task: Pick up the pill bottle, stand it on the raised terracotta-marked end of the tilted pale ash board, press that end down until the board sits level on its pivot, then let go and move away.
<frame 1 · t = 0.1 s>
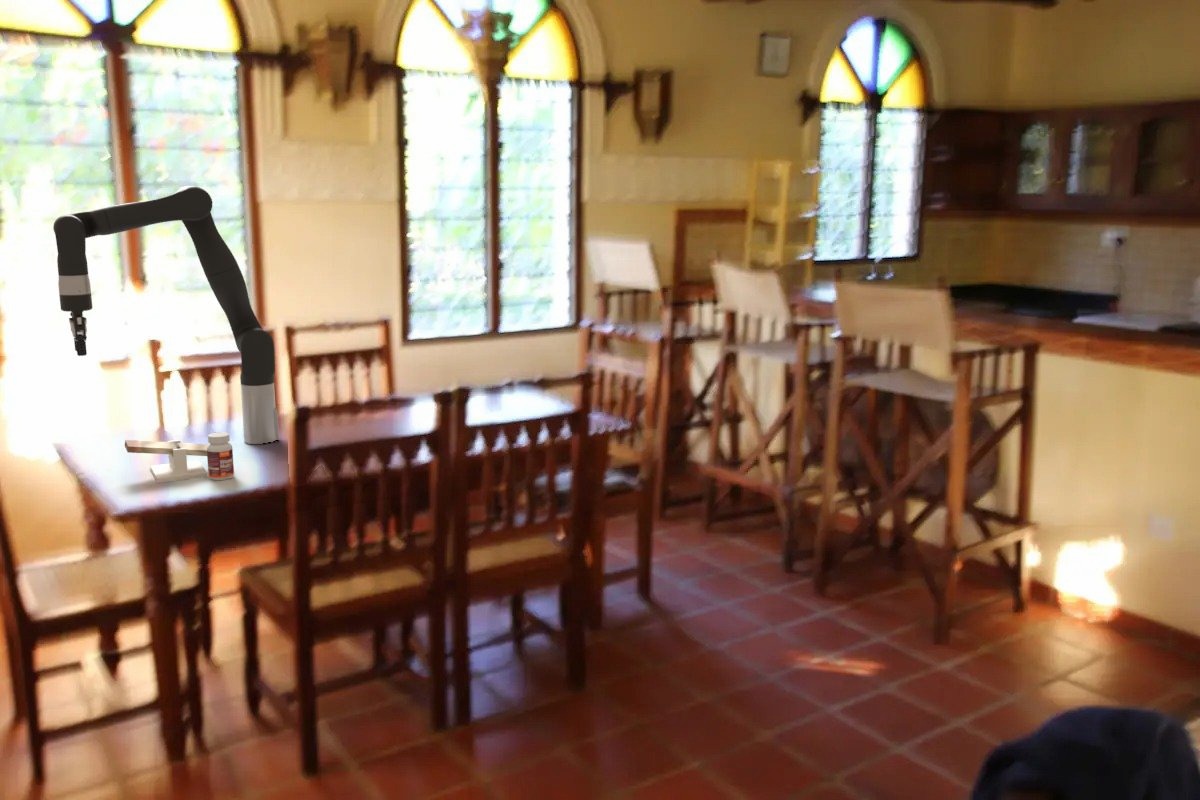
hand: (80, 353, 279), 29 cm above the table, tool pointing down, fingers open, 8 cm apart
pivot stand: (178, 472, 273), on the table
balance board: (176, 448, 272), point 7 cm above the table, hinge at -10.0°
pill bottle: (221, 478, 269), on the table
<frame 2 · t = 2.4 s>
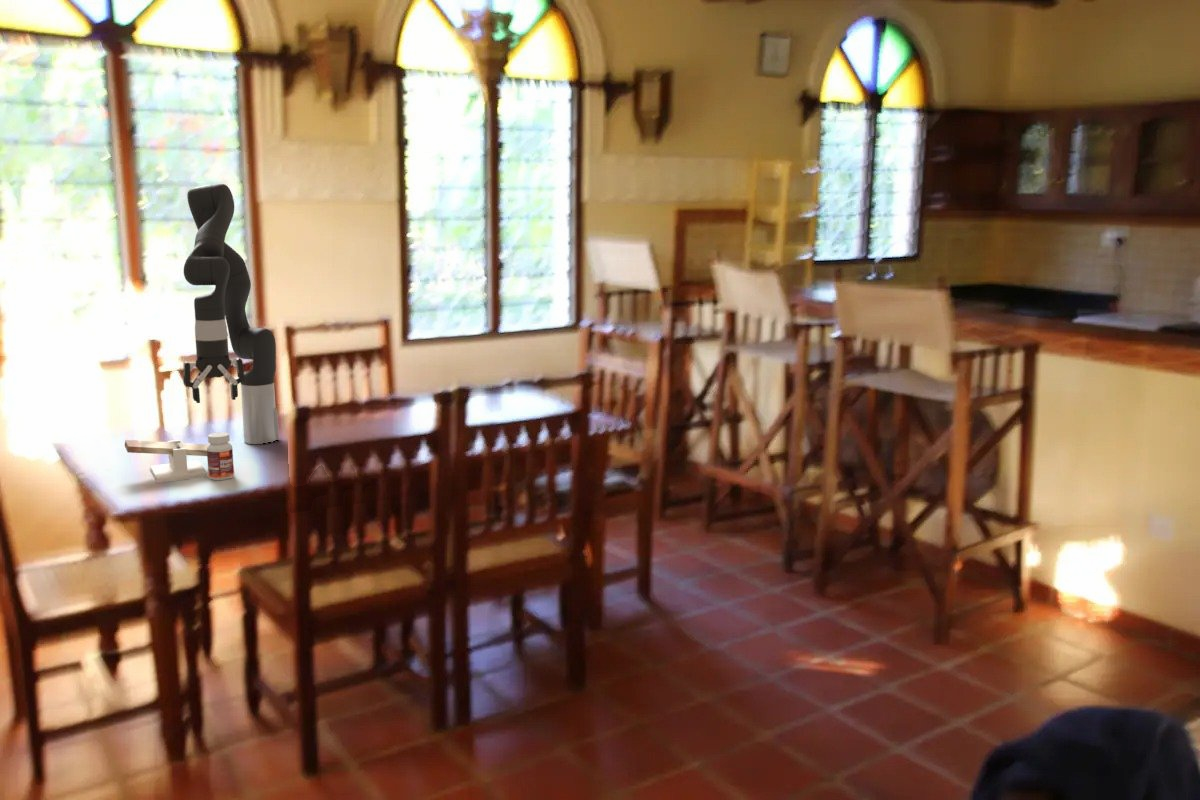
hand: (215, 400, 265), 20 cm above the table, tool pointing down, fingers open, 8 cm apart
nothing on the table moved.
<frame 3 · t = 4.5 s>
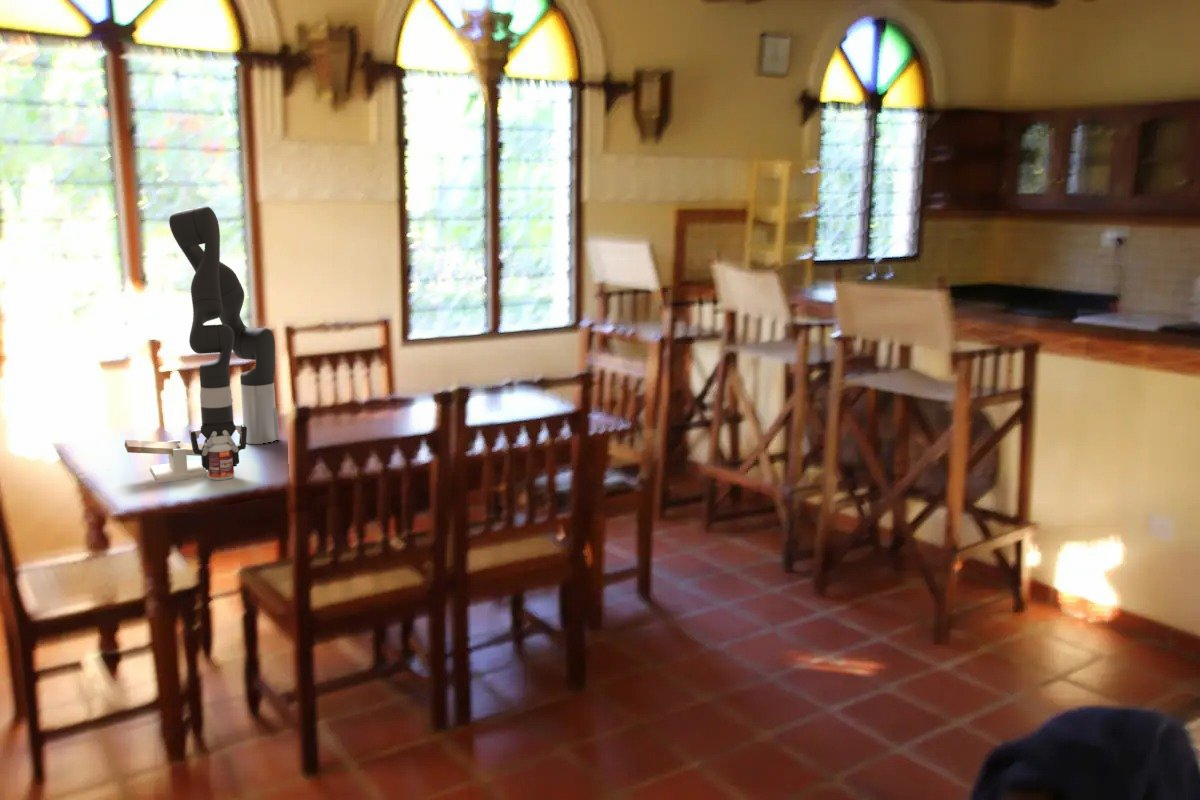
hand: (220, 467, 269), 3 cm above the table, tool pointing down, fingers closed on pill bottle, 6 cm apart
pill bottle: (221, 478, 269), on the table, touching gripper
everything else where it was.
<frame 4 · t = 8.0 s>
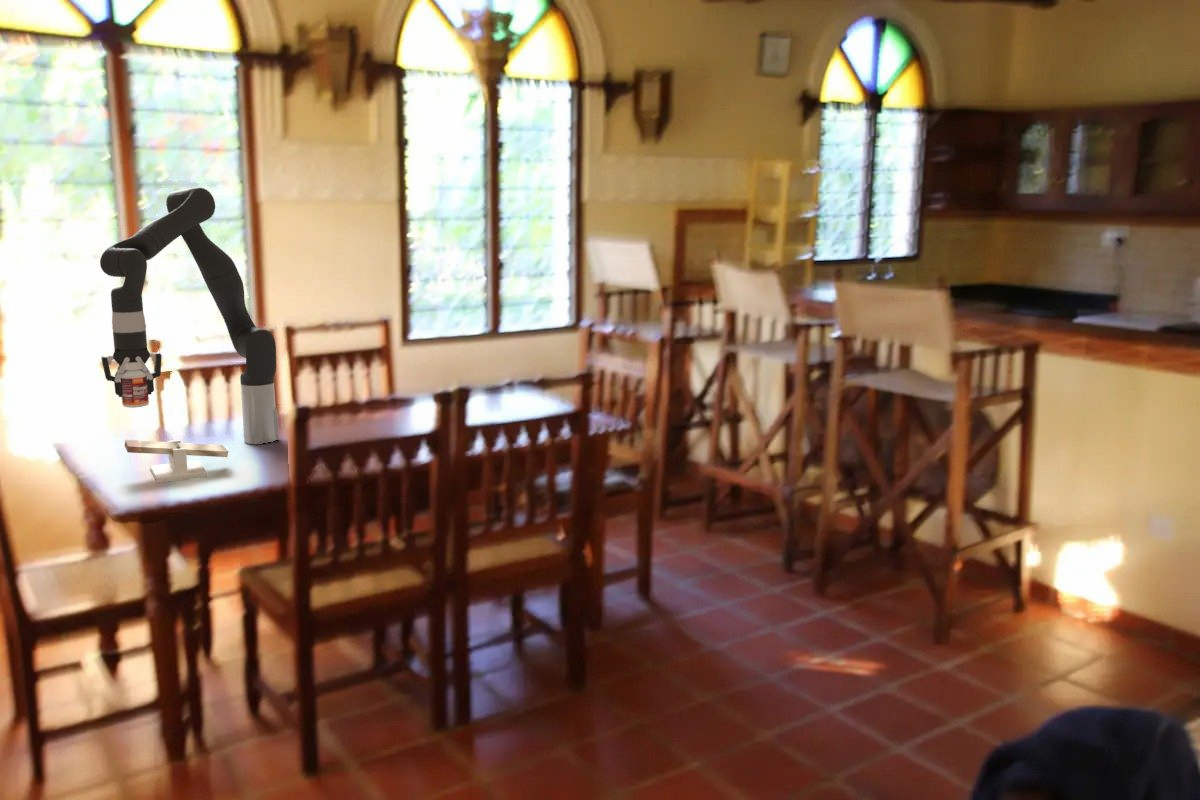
hand: (134, 395, 264), 21 cm above the table, tool pointing down, fingers closed on pill bottle, 6 cm apart
pill bottle: (135, 406, 265), point 19 cm above the table, touching gripper
everything else where it was.
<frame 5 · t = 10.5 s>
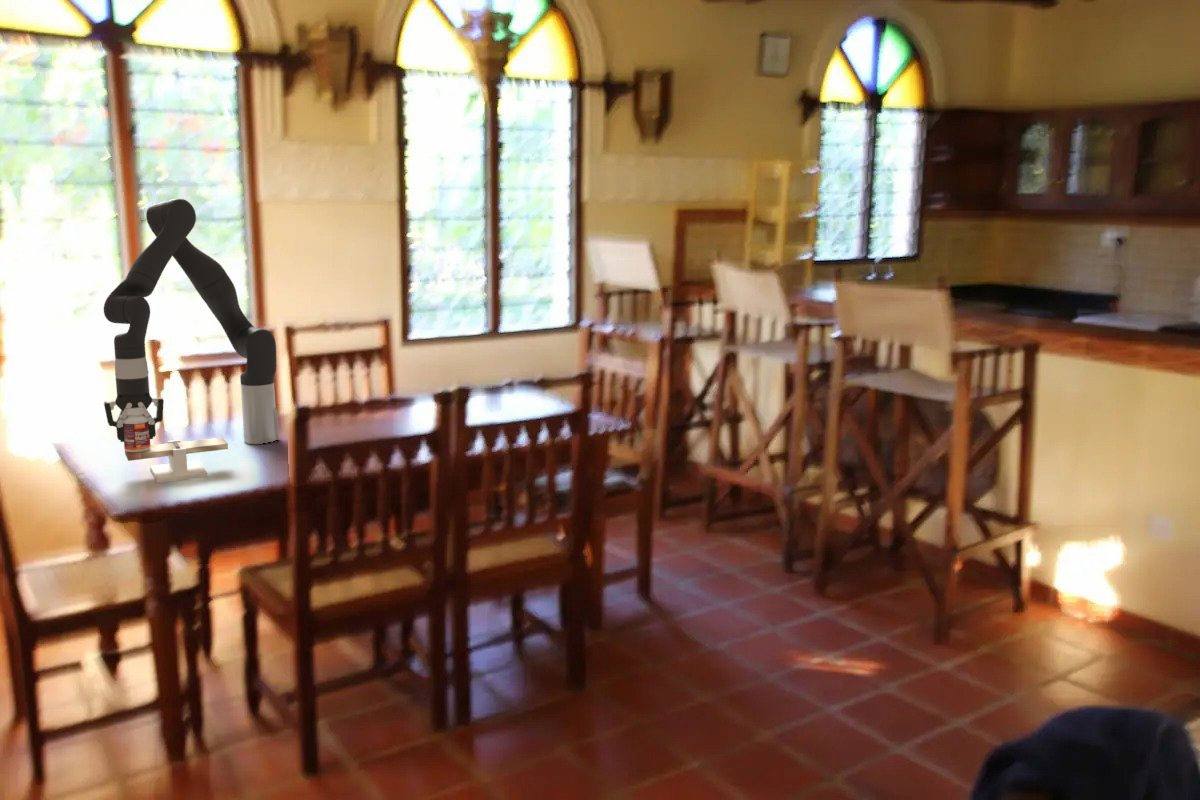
hand: (136, 439, 266), 10 cm above the table, tool pointing down, fingers closed on pill bottle, 6 cm apart
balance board: (176, 448, 272), point 7 cm above the table, hinge at 0.4°, touching pill bottle
pill bottle: (137, 450, 267), point 7 cm above the table, touching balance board, gripper
when the fingers open (10 cm above the table, at t = 11.7 s): pill bottle stays where it is, resting on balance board.
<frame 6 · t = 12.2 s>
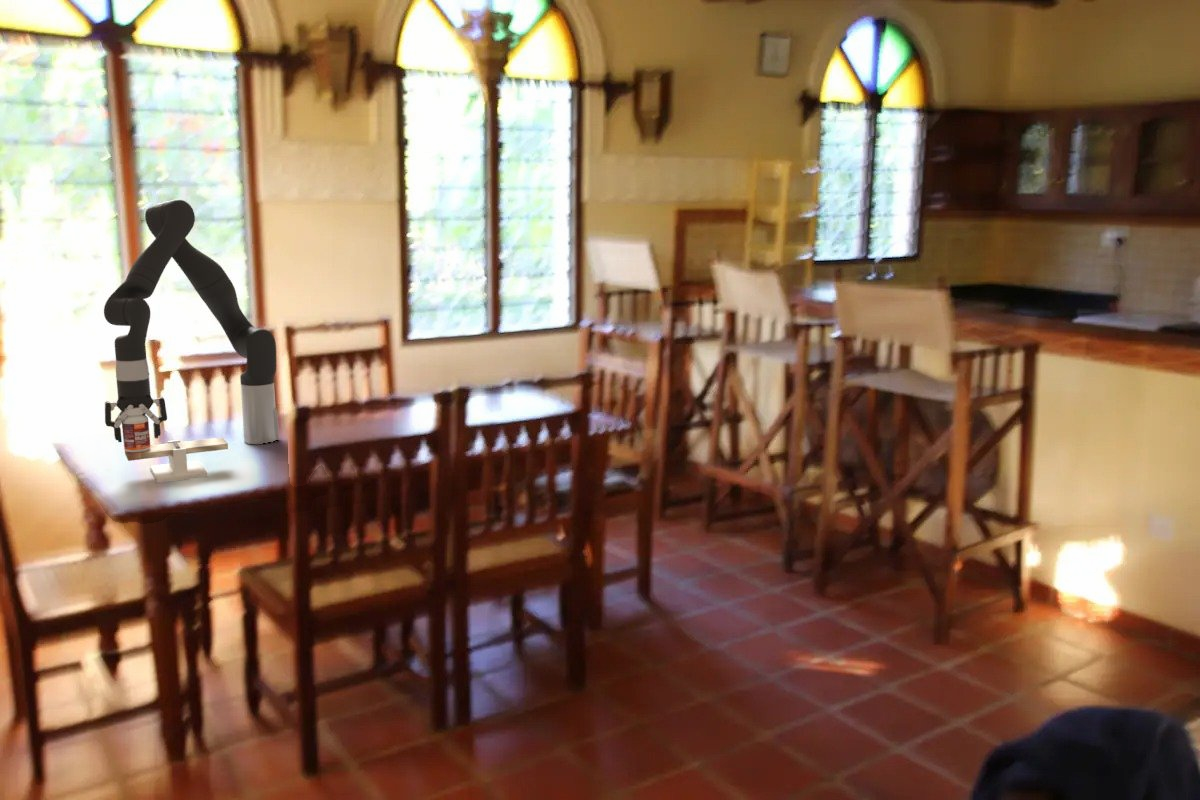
hand: (138, 439, 267), 10 cm above the table, tool pointing down, fingers open, 8 cm apart
pill bottle: (137, 450, 267), point 7 cm above the table, touching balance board
everything else where it was.
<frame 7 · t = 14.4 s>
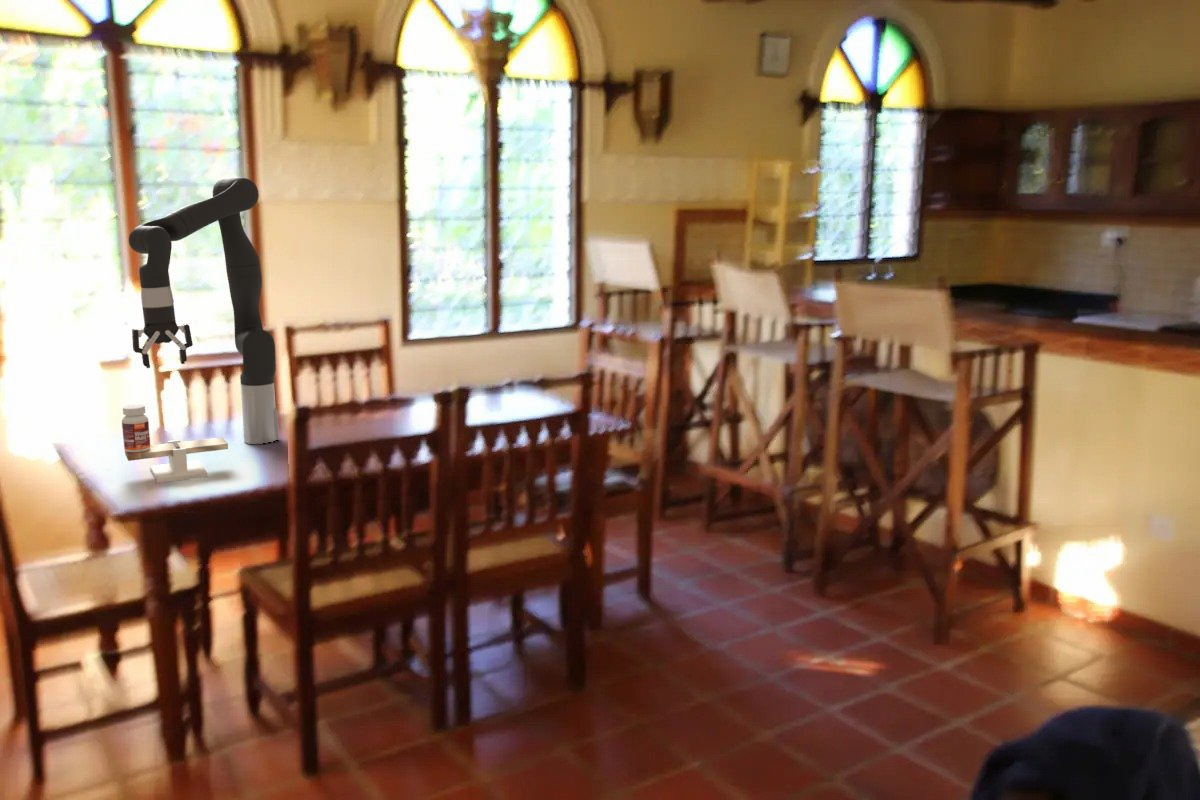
hand: (165, 365, 275), 27 cm above the table, tool pointing down, fingers open, 8 cm apart
nothing on the table moved.
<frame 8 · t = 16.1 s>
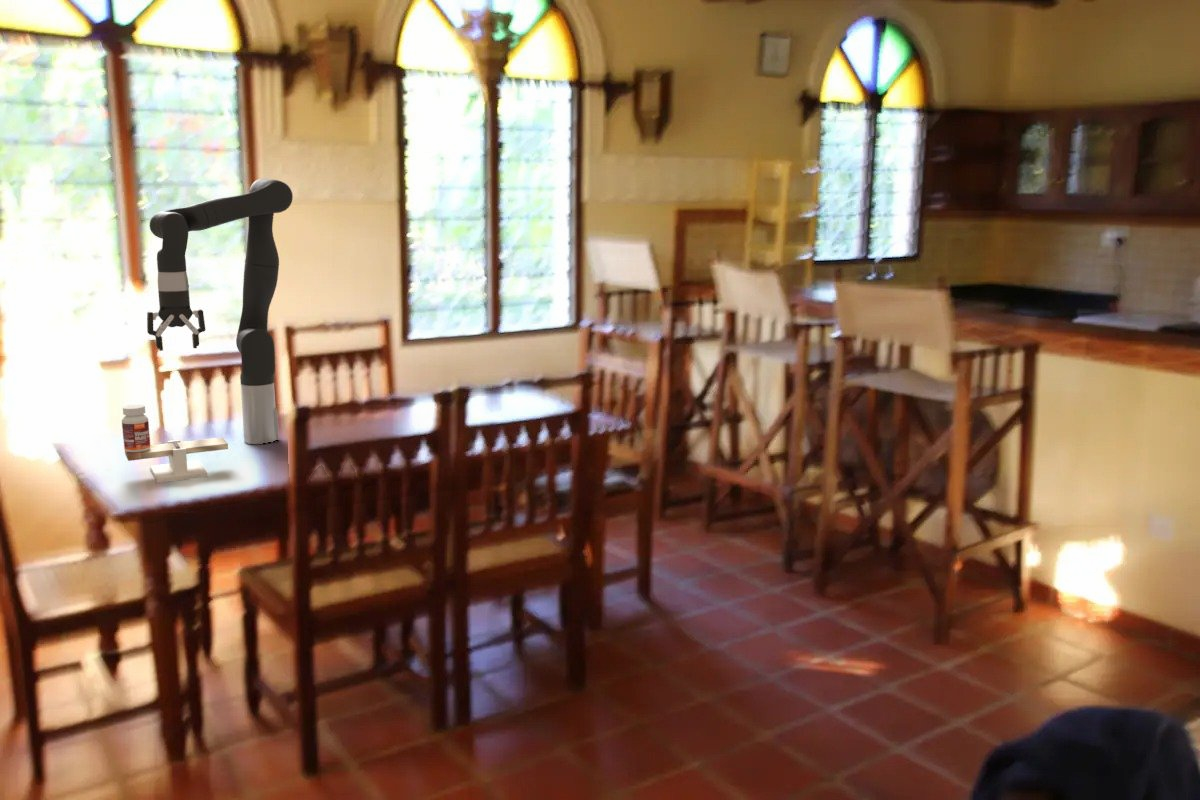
hand: (178, 349, 281), 30 cm above the table, tool pointing down, fingers open, 8 cm apart
nothing on the table moved.
at the end: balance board at +0° (first picture: -10°); pill bottle inside the target area on the pivot stand (0.3 cm from its centre), point 7.0 cm above the pivot stand's base; pill bottle tilted 0° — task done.
